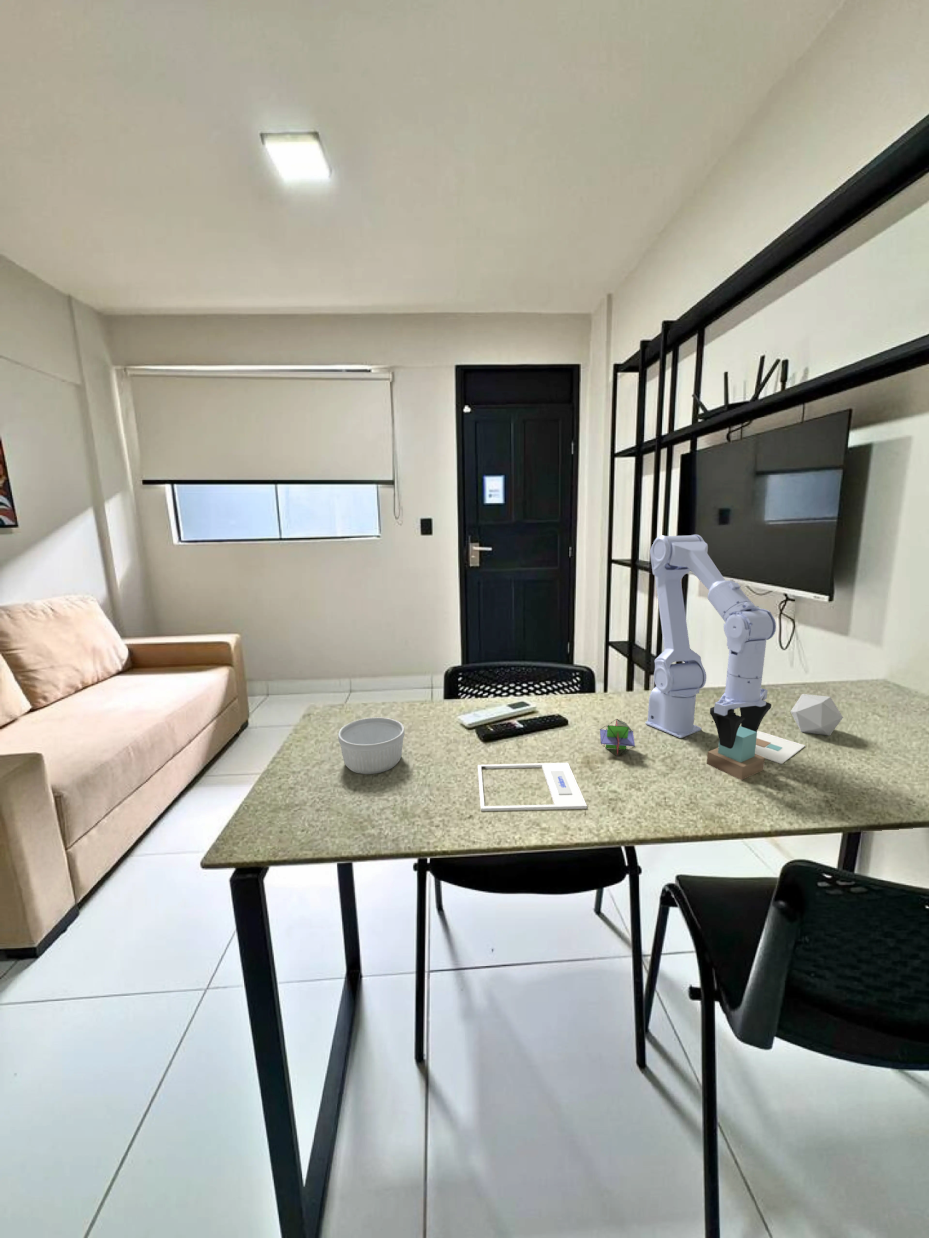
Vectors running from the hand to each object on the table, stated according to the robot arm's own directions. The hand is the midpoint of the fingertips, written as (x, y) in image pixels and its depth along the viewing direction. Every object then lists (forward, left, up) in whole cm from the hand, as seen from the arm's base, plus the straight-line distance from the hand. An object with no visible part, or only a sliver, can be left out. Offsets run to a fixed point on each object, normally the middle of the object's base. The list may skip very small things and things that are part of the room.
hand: (737, 741), depth 93 cm
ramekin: (-42, -58, -6) cm, 72 cm away
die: (+1, +30, -6) cm, 31 cm away
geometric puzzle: (-17, -14, -6) cm, 23 cm away
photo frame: (-17, -38, -6) cm, 42 cm away
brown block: (0, 0, -6) cm, 6 cm away
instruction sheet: (-1, +14, -5) cm, 15 cm away
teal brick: (0, 0, -3) cm, 3 cm away
